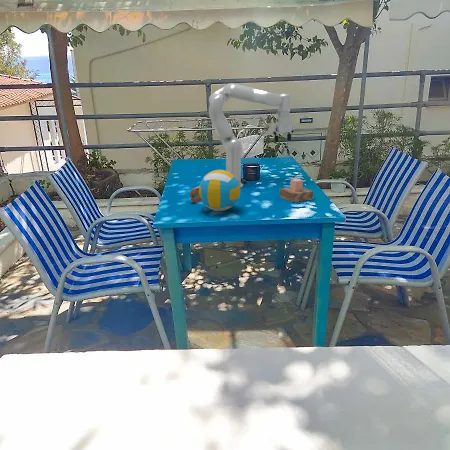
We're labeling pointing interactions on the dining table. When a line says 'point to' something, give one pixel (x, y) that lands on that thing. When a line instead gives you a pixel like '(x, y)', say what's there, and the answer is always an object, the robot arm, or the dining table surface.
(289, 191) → the walnut block
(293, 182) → the terracotta block
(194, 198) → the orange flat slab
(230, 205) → the volleyball
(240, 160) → the robot arm
